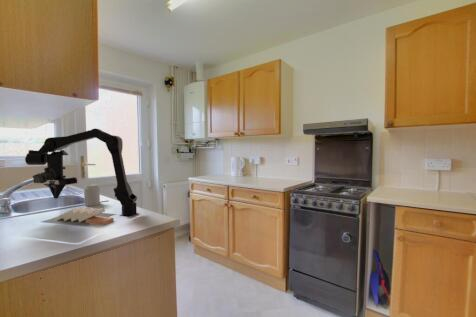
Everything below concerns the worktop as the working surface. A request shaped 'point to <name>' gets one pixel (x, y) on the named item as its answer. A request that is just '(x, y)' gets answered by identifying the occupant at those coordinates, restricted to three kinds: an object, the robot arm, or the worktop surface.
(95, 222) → the terracotta domino
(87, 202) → the can
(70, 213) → the domino
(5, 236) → the worktop surface
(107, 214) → the mat
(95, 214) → the domino
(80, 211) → the cream flat block
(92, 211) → the domino
